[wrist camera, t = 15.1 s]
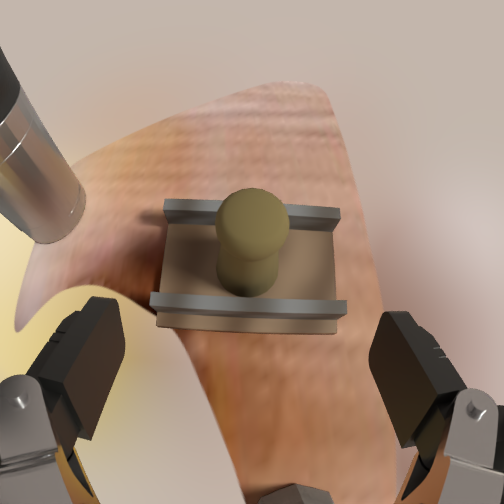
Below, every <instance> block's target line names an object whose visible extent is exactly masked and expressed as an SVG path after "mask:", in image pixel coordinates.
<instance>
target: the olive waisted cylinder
mask: <svg viewBox="0 0 504 504" xmlns="http://www.w3.org/2000/svg"><path fill="white" fill-rule="evenodd" d="M289 225H290V222H289V217H288V213H287V210H286V208H285V206H284V205H283V203H282V202H281V200H279V199H278V198H277V197H276V196H274V195H273V194H272V193H270V192H267V191H265V190H263V189H256V188H248V189H242V190H239V191H237V192H235V193H232V194H231V195H229V196H228V197H227V198H226V199H225V200H224V201H223V202H222V204H221V206H220V207H219V209H218V211H217V214H216V219H215V228H216V234H217V238H218V240H219V242H220V244H221V246H220V250H219V254H218V259H217V264H216V271H217V277H218V279H219V281H220V283H221V285H222V286H223V287H224V288H225V289H226V290H227V291H228V292H230V293H232V294H234V295H236V296H238V297H246V298H251V297H256V296H259V295H261V294H263V293H265V292H267V291H268V290H269V289H270V288H271V287H272V286H273V285H274V283H275V281H276V279H277V276H278V268H279V249H280V248H281V247H282V246H283V245H284V243H285V240H286V238H287V236H288V234H289Z"/></svg>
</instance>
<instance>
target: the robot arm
mask: <svg viewBox="0 0 504 504" xmlns="http://www.w3.org/2000/svg"><path fill="white" fill-rule="evenodd" d="M85 202H86V195H85V191H84V188H83V187H82V185H81V183H80V182H79V180H78V179H77V177H76V176H75V174H74V173H73V171H72V170H71V168H70V167H69V165H68V164H67V162H66V160H65V159H64V157H63V156H62V154H61V153H60V151H59V149H58V148H57V146H56V145H55V143H54V142H53V140H52V138H51V137H50V135H49V133H48V132H47V130H46V128H45V127H44V125H43V123H42V122H41V120H40V118H39V117H38V115H37V113H36V111H35V110H34V108H33V106H32V105H31V103H30V101H29V99H28V98H27V96H26V94H25V92H24V90H23V88H22V87H21V85H20V83H19V81H18V80H17V77H16V76H15V74H14V72H13V70H12V68H11V67H10V65H9V63H8V61H7V59H6V57H5V56H4V54H3V51H2V49H1V47H0V213H1V214H2V215H3V216H4V217H6V218H7V219H8V220H9V221H10V222H11V223H13V224H14V225H15V226H16V227H17V228H18V229H19V230H21V231H23V232H24V233H26V234H27V235H28V236H29V237H30V238H32V239H33V240H34V241H36V242H38V243H43V244H48V243H53V242H56V241H58V240H60V239H62V238H63V237H65V236H66V235H67V234H68V233H70V232H71V231H72V230H73V228H74V227H75V226H76V225H77V223H78V222H79V220H80V218H81V216H82V214H83V211H84V208H85ZM124 354H125V338H124V333H123V327H122V322H121V317H120V311H119V305H118V302H117V300H116V299H113V298H104V297H94V296H93V297H91V298H90V299H89V300H88V302H87V303H86V304H85V306H84V307H83V309H82V310H81V311H75V312H73V313H72V314H71V315H69V316H68V317H66V318H65V319H64V320H63V321H62V322H61V324H60V325H59V326H58V328H57V329H56V332H55V333H53V335H52V336H51V337H50V339H49V342H47V343H46V345H45V346H44V348H43V349H42V350H41V352H40V353H39V355H38V356H37V358H36V359H35V361H34V362H33V364H32V365H31V367H30V368H29V370H28V371H27V373H26V374H25V375H14V376H11V377H9V378H7V379H5V380H3V381H2V382H1V383H0V504H100V502H99V500H98V498H97V497H96V495H95V492H94V490H93V488H92V486H91V484H90V482H89V480H88V477H87V475H86V473H85V471H84V468H83V466H82V464H81V461H80V459H79V456H78V454H77V451H76V449H75V448H74V445H75V442H76V440H77V437H79V438H83V439H87V440H90V441H91V440H92V437H93V434H94V431H95V429H96V426H97V423H98V421H99V418H100V415H101V413H102V410H103V408H104V405H105V402H106V400H107V397H108V395H109V392H110V390H111V387H112V385H113V382H114V380H115V377H116V375H117V372H118V370H119V368H120V365H121V363H122V360H123V358H124ZM369 367H370V370H371V372H372V375H373V377H374V380H375V382H376V384H377V387H378V389H379V392H380V394H381V397H382V399H383V402H384V404H385V407H386V409H387V412H388V414H389V417H390V419H391V422H392V424H393V427H394V430H395V432H396V435H397V437H398V440H399V443H400V445H401V448H407V447H412V446H416V447H417V449H418V452H417V453H416V454H415V456H414V458H413V460H412V463H411V465H410V468H409V471H408V473H407V476H406V478H405V480H404V483H403V485H402V487H401V490H400V492H399V494H398V496H397V498H396V501H395V503H394V504H504V406H501V405H496V403H495V402H494V400H493V399H492V398H491V397H490V396H489V395H488V394H487V393H485V392H483V391H481V390H478V389H471V388H470V389H468V388H467V387H466V385H465V383H464V382H463V380H462V379H461V377H460V376H459V374H458V373H457V371H456V369H455V368H454V366H453V365H452V363H451V362H450V360H449V359H448V358H446V355H445V353H444V351H443V350H442V349H440V346H439V344H438V343H437V342H436V340H435V338H434V337H433V336H432V335H431V334H430V333H428V332H427V331H426V330H425V329H423V328H422V327H421V326H418V325H417V323H416V322H415V321H414V319H413V318H412V316H411V315H410V314H409V312H407V311H389V312H384V313H383V314H382V316H381V318H380V321H379V324H378V327H377V330H376V333H375V336H374V339H373V342H372V345H371V348H370V351H369Z"/></svg>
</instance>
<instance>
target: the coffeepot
mask: <svg viewBox="0 0 504 504" xmlns="http://www.w3.org/2000/svg"><path fill="white" fill-rule="evenodd" d="M258 504H334V502H333V500H332V498H331V496H330V493H329V492H327V491H323V490H319V489H316V488H313V487H307V486H302V485H299V484H294V485H291V486H289V487H286V488H283V489H279V490H277V491H275V492H273V493H270V494H269V495H266V496H263V497H261V498H260V500H259V502H258Z"/></svg>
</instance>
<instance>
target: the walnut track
mask: <svg viewBox="0 0 504 504" xmlns="http://www.w3.org/2000/svg"><path fill="white" fill-rule="evenodd" d="M222 202H223V201H220V200H194V199H165V201H164V207H163V211H164V213H165V216H166V219H167V221H168V230H167V237H166V244H165V251H164V259H163V266H162V274H161V283H160V291H159V292H151V296H150V306H151V307H152V308H153V309H154V310H155V311H157V321H156V326H158V327H162V328H173V329H185V330H199V331H215V332H234V333H258V334H308V335H327V334H336V333H337V319H339V318H341V317H342V316H344V315H346V314H347V300H336V281H335V263H334V247H333V233H332V232H333V230H334V229H335V227H336V226H337V224H338V222H339V221H340V219H341V216H340V208H333V207H320V206H307V205H293V204H283V205H284V206H285V208H286V210H287V213H288V217H289V222H290V225H289V234H288V236H287V238H286V240H285V243H284V245H283V246H282V247H281V248H280V249H279V268H278V276H277V279H276V281H275V283H274V285H273V286H272V287H271V288H270V289H269V290H268V291H267V292H265V293H263V294H261V295H259V296H256V297H251V298H246V297H238V296H236V295H234V294H232V293H230V292H228V291H227V290H226V289H225V288H224V287H223V286H222V285H221V283H220V281H219V279H218V277H217V271H216V264H217V259H218V254H219V250H220V246H221V244H220V242H219V240H218V238H217V234H216V228H215V219H216V214H217V211H218V209H219V207H220V206H221V204H222Z"/></svg>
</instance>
